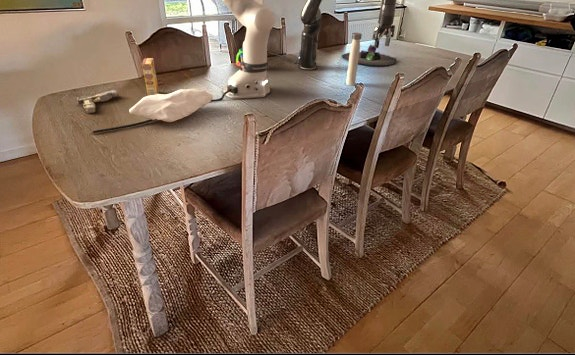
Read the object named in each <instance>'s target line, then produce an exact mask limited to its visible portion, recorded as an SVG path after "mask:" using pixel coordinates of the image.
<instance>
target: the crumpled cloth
mask: <svg viewBox="0 0 575 355" xmlns="http://www.w3.org/2000/svg"><path fill="white" fill-rule="evenodd" d="M213 97H214V96H213V94H212V93H210V92H208V91H206V90H203V89H201V88H187V89H186V88H185V89H184V88H183V89H177V90H175V91H173V92H171V93H167V94H163V93H158V94H156V95H150V96H148V95H146V96H144V97H142V98H141V99H140V100H139V101H138V102H137V103H136V104H134V105H133V106H132V107H131V108H129V114H130V115H135V116H140V117H145V118H146V119H148V120H150V119H152V120H155V119H158V121H163V122H166V123H174V122H176V121H178V120H181V119H183V118H185V117H188V116H190V115H192V114H193V113H195V112H196V111H197V110H199V109H200V108H202V107H204V106H206V105H207V104H210V102H212V101H211V100H213V99H214V98H213ZM155 121H156V120H155Z"/></svg>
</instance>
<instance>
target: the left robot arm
mask: <svg viewBox="0 0 575 355" xmlns="http://www.w3.org/2000/svg"><path fill="white" fill-rule="evenodd" d="M221 1H222V3H223V4H224V5H225V6H227V8H228V9H229V11H230V12H231V13H232V15H233V16H234V17H235V18H236V20H237V21H238V22H239V23H240V24H241V25H242V26H244V27H245V28H246V32H245V37H244V41H243V42H242V48H243V61H242V62H241V61H240V60H239V61H237V62H236V61H235V65H236V66H237V67H239V69H237V71H236V72H235V73H234V74H232V75H231V76H230V77H229V78H228V81H227V85H226V87H224V88H223V91H222V92H223V94H222V96H221V97H220V98H216V99H212V100H211V101H210V102H219V101H223V99H224V98H225V96H226V97H228V98H230V99H233V100H236V99H237V100H238V99H239V100H240V99H253V98H254V99H255V98H264V97H266V95H268V94H269V93H270V92H271V88H270V84H269V78H268V76H269V75H268V72H269V61H268V52H267V51H268V43H269V37H270V33H271V30H272V29H273V28H274V25H275V19H276V18H275V15H274V13H273V11H272V10H271V9H270V8H269V7H267V6H266V5H264V4H262V3H260V2H258V1H256V0H221ZM157 120H158V119H155V120H152V119H146V120H143V121H139V122H135V123H130V124H125V125H120V126H114V127H110V128H100V129H96V130H95V129H94V130H92V133H93V134H98V133H104V132H109V131H115V130H121V129H126V128H131V127H135V126H136V127H137V126H140V125H143V124H147V123H148V124H149V123H151V122H154V121H157ZM158 121H159V120H158Z"/></svg>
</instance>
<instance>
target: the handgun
mask: <svg viewBox="0 0 575 355" xmlns="http://www.w3.org/2000/svg"><path fill="white" fill-rule="evenodd" d="M119 96H120V94H119V92H118V91H117V90H116V89H112V90H108V91H105V92H104V91H103V92H101V93H96V94H94V95H86V94H85V95H84V94H83V95H81V96H80V97H77V98H76V101H77V104H78V105H82V108H83V109H84V110H85V113H87V114H91V113H95V112H96V104H95V103H98V102H106V101H109V100H111V99H113V98H117V97H119Z"/></svg>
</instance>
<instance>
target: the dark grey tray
mask: <svg viewBox="0 0 575 355" xmlns="http://www.w3.org/2000/svg"><path fill="white" fill-rule="evenodd" d="M374 45H375V44H369V46H368V48H367V50H360V52H359V59H358V64H360V65H365V66H376V67H377V66H378V67H380V66H390V65H393V64H396V63H397V58H395V57H391V56H390V55H386V54H383V53H380V51H378V52H377V48H375V47H374ZM349 55H350V52H347V53H343V54H342V55H341V58H343V60H346V61H348V62H349Z"/></svg>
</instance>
